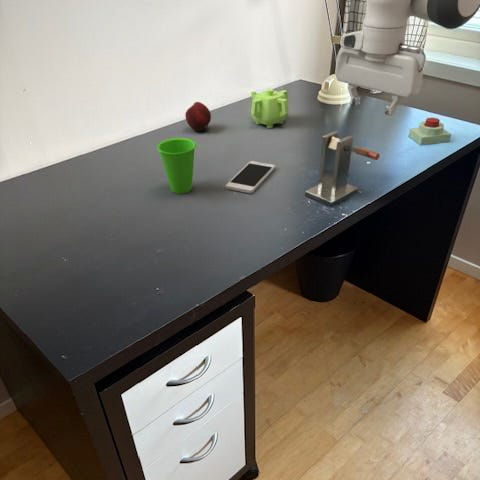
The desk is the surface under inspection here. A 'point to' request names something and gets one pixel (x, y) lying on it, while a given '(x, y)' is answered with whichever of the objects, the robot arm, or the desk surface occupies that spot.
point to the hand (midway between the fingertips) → (371, 109)
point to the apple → (198, 116)
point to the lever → (355, 149)
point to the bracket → (333, 172)
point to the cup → (178, 163)
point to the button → (432, 122)
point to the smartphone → (250, 177)
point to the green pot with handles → (269, 107)
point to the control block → (429, 134)
